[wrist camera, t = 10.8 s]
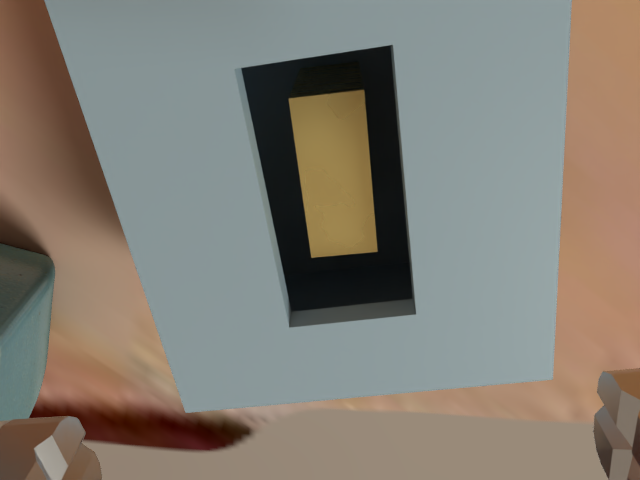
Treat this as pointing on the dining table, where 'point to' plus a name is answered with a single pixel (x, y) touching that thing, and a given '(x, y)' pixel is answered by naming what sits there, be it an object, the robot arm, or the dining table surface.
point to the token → (334, 159)
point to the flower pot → (23, 328)
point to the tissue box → (287, 201)
